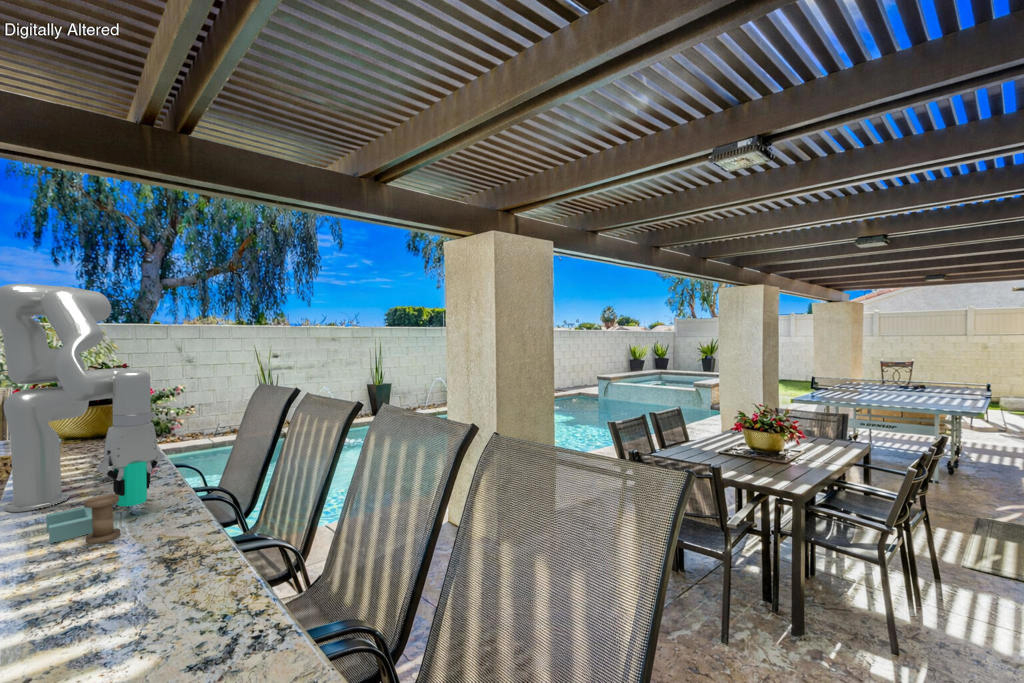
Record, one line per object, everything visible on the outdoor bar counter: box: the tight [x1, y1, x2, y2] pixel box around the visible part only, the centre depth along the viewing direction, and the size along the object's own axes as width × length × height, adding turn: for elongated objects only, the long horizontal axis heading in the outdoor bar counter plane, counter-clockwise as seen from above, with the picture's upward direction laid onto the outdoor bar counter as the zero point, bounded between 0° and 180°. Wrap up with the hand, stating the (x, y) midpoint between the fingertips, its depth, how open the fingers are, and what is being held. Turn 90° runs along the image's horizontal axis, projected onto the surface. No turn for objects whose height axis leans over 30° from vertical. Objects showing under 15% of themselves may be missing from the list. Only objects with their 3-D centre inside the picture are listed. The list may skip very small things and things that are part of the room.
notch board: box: [45, 506, 93, 544], centre depth 115 cm, size 12×9×4 cm
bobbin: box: [83, 493, 121, 545], centre depth 110 cm, size 6×6×9 cm
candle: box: [116, 462, 148, 507], centre depth 123 cm, size 6×6×12 cm
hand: (132, 490), depth 123 cm, fingers closed on candle, 4 cm apart
